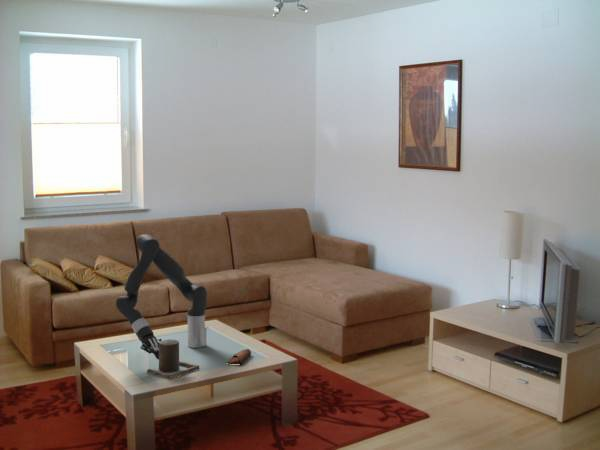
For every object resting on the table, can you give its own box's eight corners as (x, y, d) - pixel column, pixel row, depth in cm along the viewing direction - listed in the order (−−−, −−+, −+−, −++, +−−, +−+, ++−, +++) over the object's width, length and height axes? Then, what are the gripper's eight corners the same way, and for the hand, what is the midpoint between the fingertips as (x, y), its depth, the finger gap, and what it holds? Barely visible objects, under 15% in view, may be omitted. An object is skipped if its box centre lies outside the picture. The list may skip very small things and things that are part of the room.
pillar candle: (172, 373, 339) (172, 342, 337) (154, 371, 342) (154, 340, 340) (183, 367, 348) (183, 337, 346) (165, 365, 351) (165, 335, 349)
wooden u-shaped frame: (147, 372, 340) (147, 369, 339) (175, 362, 355) (175, 359, 355) (171, 379, 331) (171, 376, 331) (199, 368, 346) (199, 365, 346)
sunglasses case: (235, 354, 370) (241, 343, 369) (246, 361, 369) (253, 351, 368) (224, 364, 353) (231, 354, 351) (236, 372, 352) (242, 361, 350)
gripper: (148, 331, 359) (166, 359, 354) (128, 336, 349) (146, 366, 343) (155, 322, 356) (173, 350, 350) (135, 328, 345) (153, 357, 339)
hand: (160, 358), depth 347 cm, fingers closed
